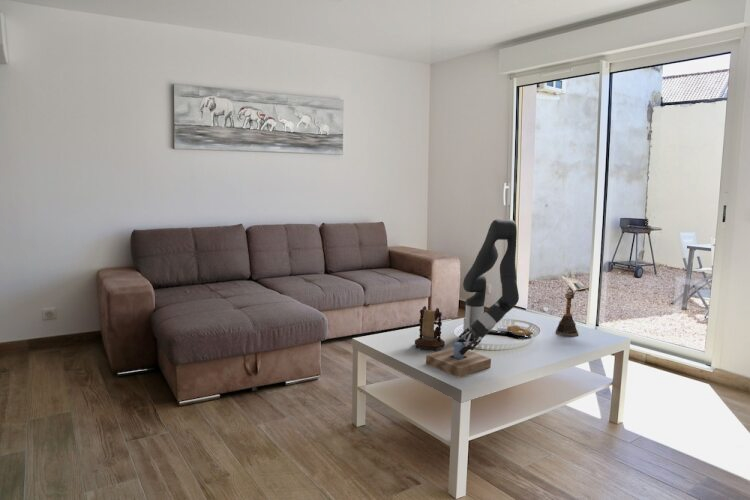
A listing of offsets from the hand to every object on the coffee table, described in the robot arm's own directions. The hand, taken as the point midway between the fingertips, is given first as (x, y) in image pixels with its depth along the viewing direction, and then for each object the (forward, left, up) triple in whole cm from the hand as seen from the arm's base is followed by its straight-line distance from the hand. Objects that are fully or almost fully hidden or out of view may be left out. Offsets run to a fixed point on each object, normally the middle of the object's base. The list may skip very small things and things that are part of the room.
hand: (457, 350), depth 229 cm
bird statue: (+4, +85, -7) cm, 86 cm away
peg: (0, 0, -7) cm, 7 cm away
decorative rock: (-13, +61, -7) cm, 63 cm away
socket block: (0, 0, -7) cm, 7 cm away
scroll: (-26, +8, -7) cm, 28 cm away
